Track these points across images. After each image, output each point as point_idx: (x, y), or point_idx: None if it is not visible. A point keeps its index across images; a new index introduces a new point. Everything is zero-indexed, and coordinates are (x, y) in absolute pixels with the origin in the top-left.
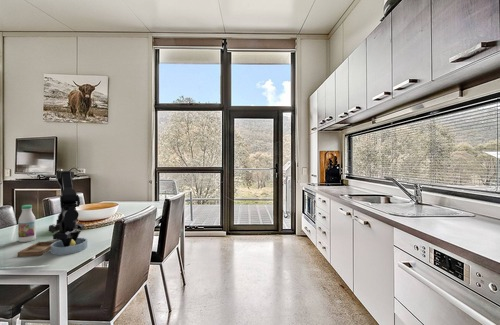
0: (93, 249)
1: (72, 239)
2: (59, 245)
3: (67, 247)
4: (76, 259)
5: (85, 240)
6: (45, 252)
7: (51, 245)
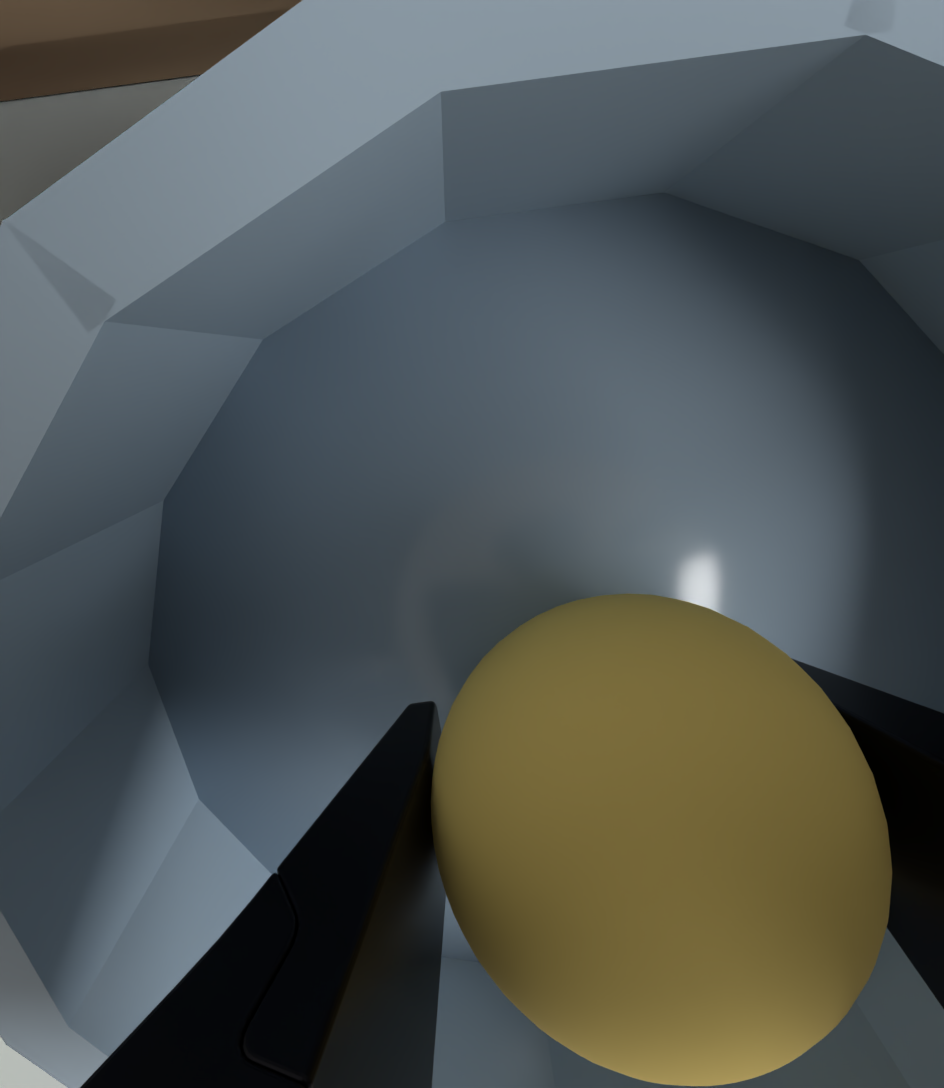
0: None
1: (775, 1067)
2: (842, 207)
3: (80, 1071)
4: (35, 1077)
5: (917, 1076)
6: (166, 40)
7: (74, 241)
